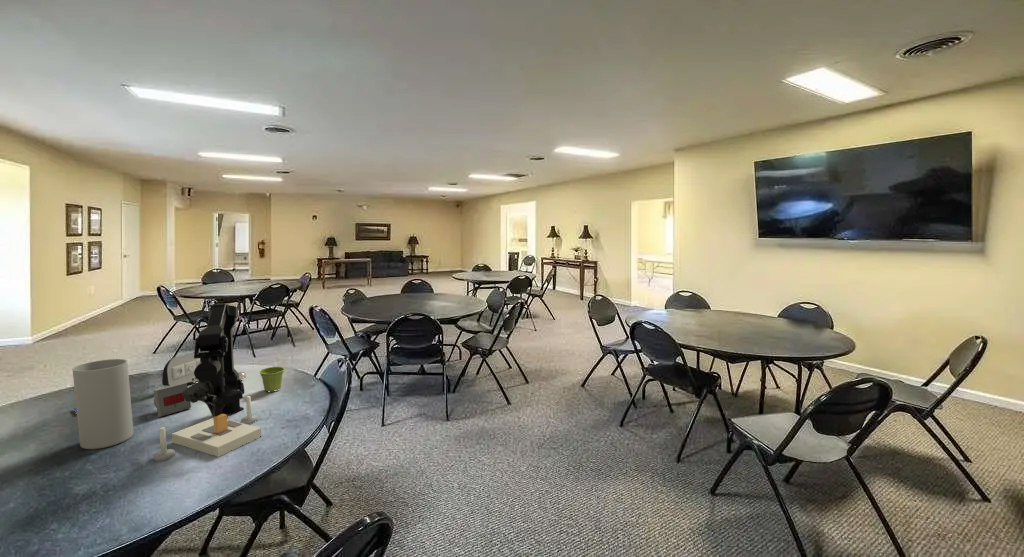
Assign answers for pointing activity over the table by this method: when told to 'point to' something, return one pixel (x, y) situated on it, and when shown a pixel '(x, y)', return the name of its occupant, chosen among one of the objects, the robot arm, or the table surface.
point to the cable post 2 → (249, 413)
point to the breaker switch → (220, 423)
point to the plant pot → (272, 378)
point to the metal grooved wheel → (242, 375)
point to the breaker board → (216, 437)
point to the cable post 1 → (163, 448)
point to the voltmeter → (171, 399)
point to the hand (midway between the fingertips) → (216, 418)
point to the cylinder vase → (103, 403)
